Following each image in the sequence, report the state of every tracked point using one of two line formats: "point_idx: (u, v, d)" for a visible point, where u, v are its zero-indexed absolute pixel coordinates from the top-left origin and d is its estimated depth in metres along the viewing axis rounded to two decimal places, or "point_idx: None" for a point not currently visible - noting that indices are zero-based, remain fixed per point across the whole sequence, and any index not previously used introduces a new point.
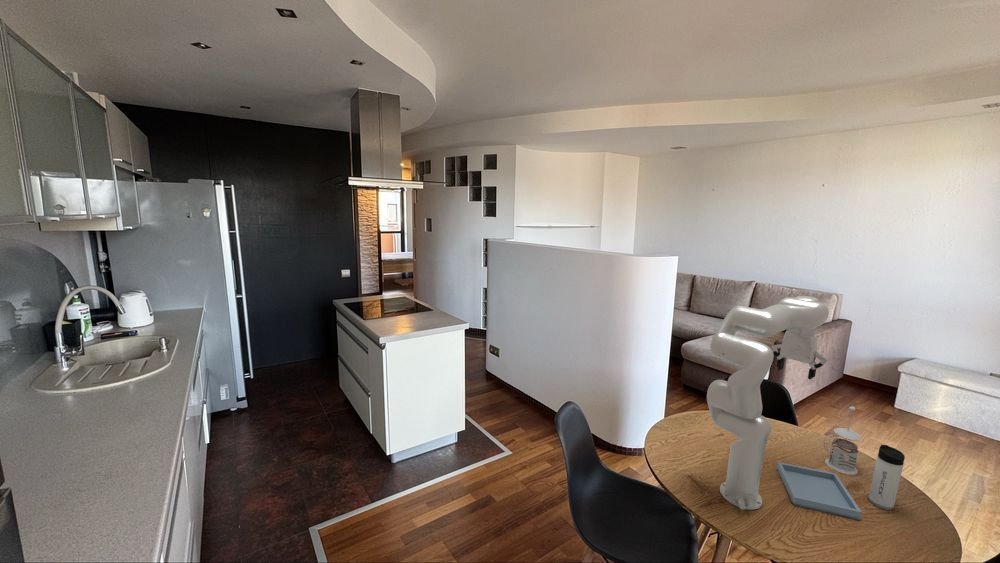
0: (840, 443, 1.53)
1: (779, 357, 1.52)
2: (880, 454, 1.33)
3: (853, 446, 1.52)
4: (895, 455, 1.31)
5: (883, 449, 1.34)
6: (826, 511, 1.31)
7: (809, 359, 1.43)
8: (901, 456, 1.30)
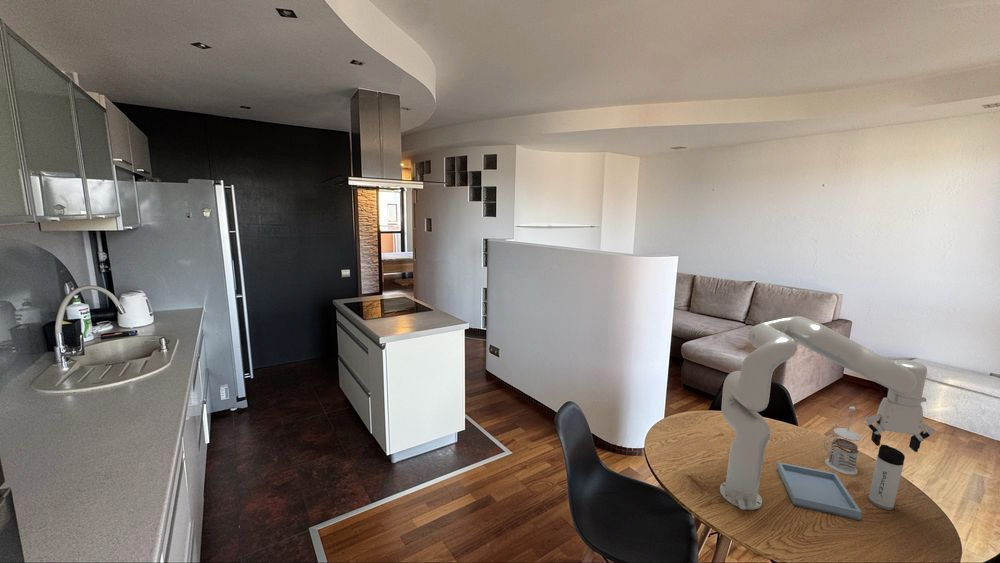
0: (840, 443, 1.53)
1: None
2: (880, 454, 1.33)
3: (853, 446, 1.52)
4: (895, 455, 1.31)
5: (883, 449, 1.34)
6: (826, 511, 1.31)
7: None
8: (901, 456, 1.30)
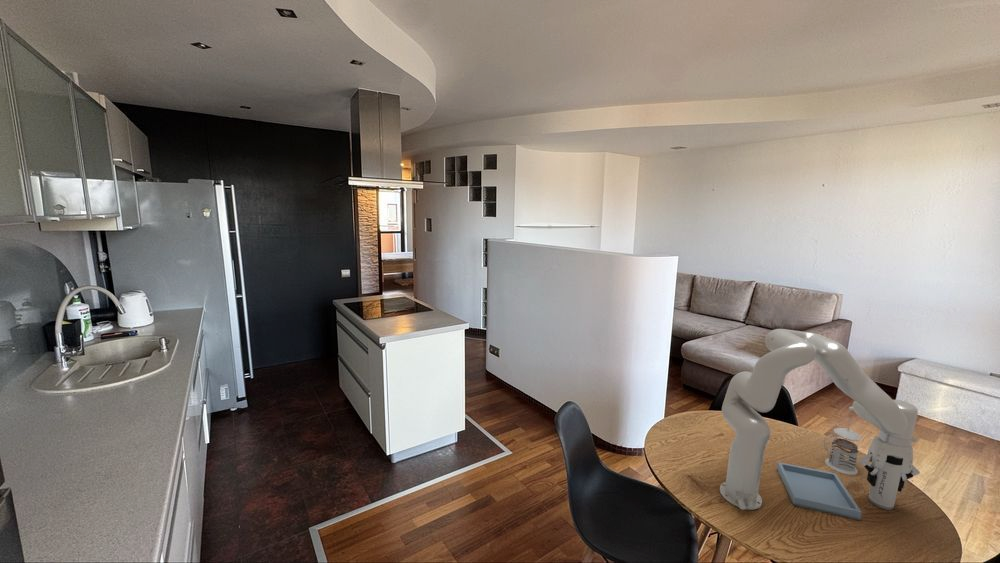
0: (840, 443, 1.53)
1: None
2: None
3: (853, 446, 1.52)
4: None
5: None
6: (826, 511, 1.31)
7: None
8: None
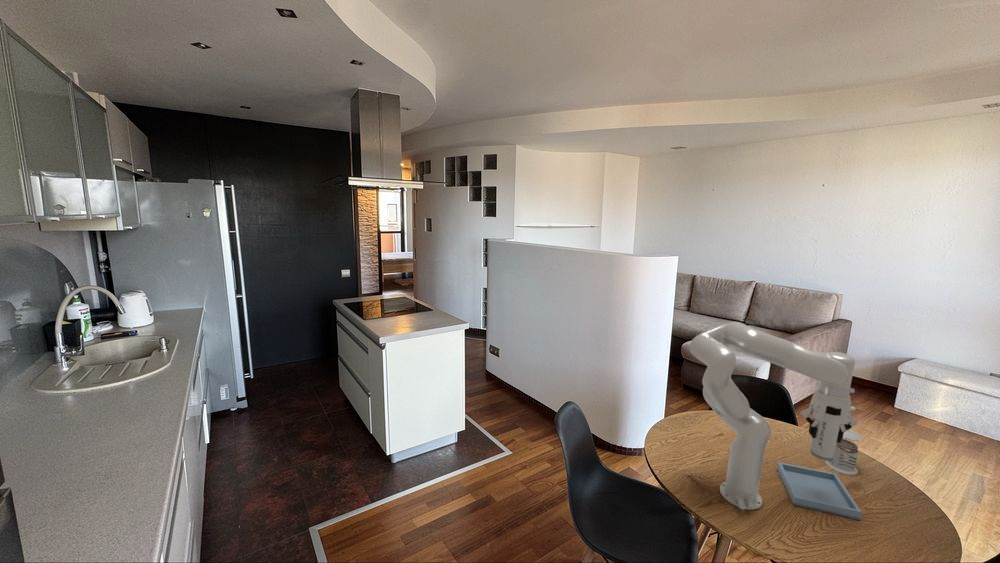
0: (840, 443, 1.53)
1: None
2: None
3: (853, 446, 1.52)
4: None
5: None
6: (826, 511, 1.31)
7: None
8: None
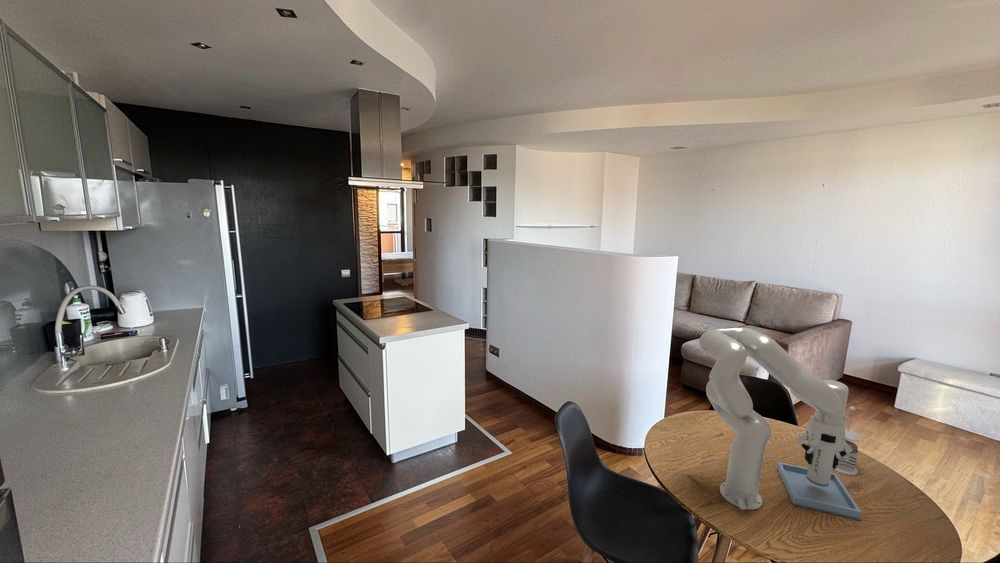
0: None
1: None
2: None
3: (853, 446, 1.52)
4: None
5: None
6: (826, 511, 1.31)
7: None
8: None
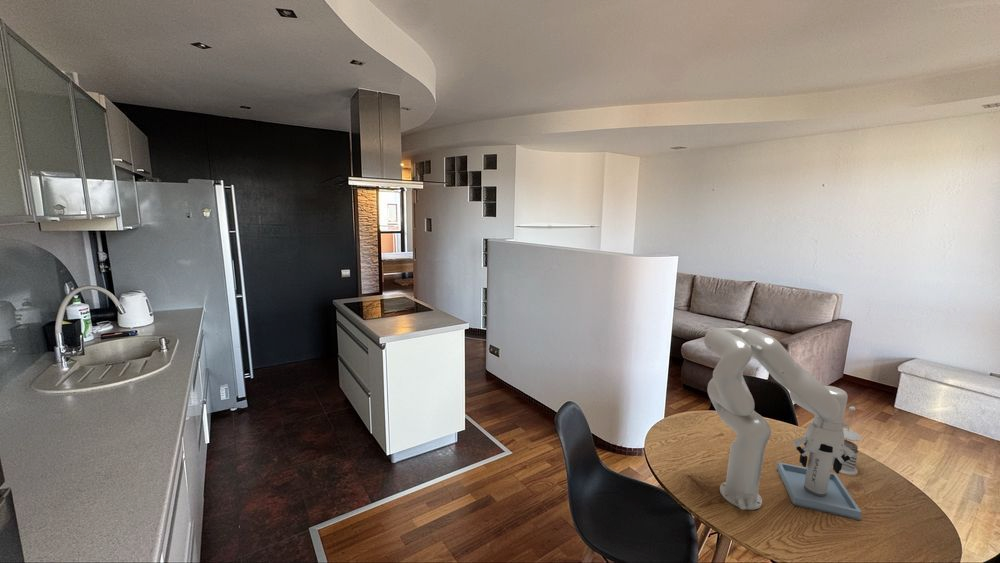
0: None
1: None
2: None
3: (853, 446, 1.52)
4: None
5: None
6: (826, 511, 1.31)
7: None
8: None
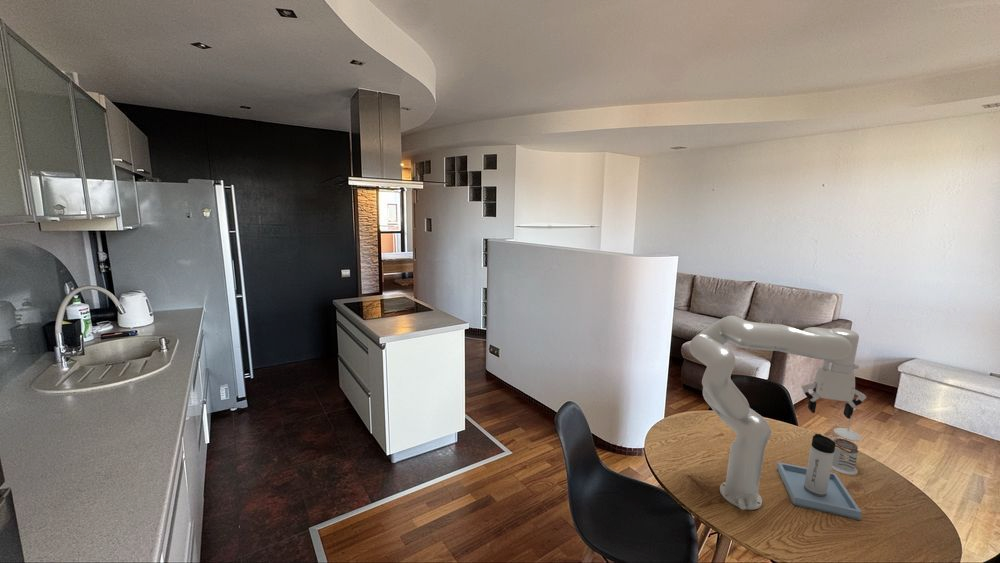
0: (840, 443, 1.53)
1: None
2: (813, 443, 1.37)
3: (853, 446, 1.52)
4: (826, 443, 1.35)
5: (816, 438, 1.38)
6: (826, 511, 1.31)
7: None
8: (832, 444, 1.35)
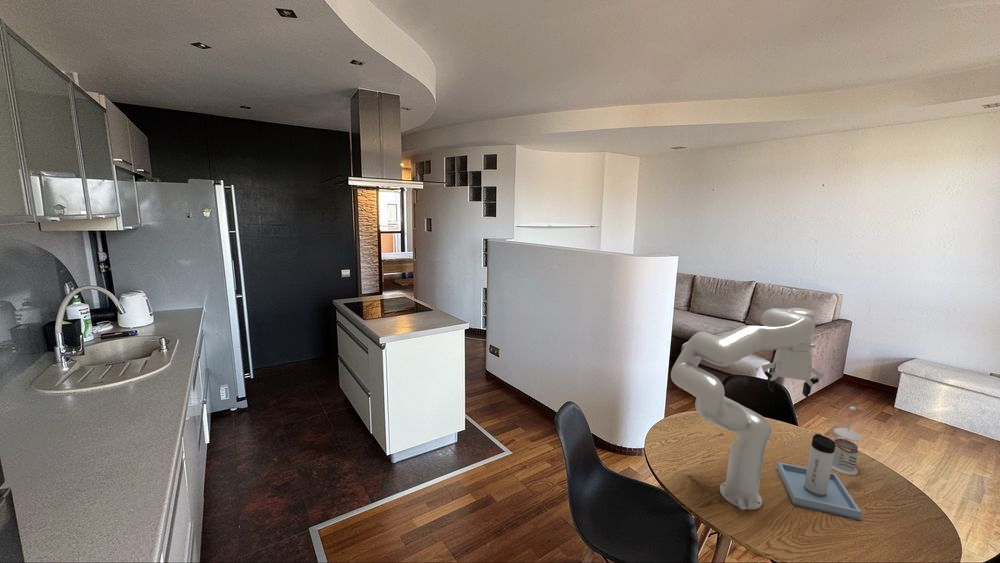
0: (840, 443, 1.53)
1: None
2: (813, 443, 1.37)
3: (853, 446, 1.52)
4: (826, 444, 1.35)
5: (816, 438, 1.38)
6: (826, 511, 1.31)
7: None
8: (832, 444, 1.35)
